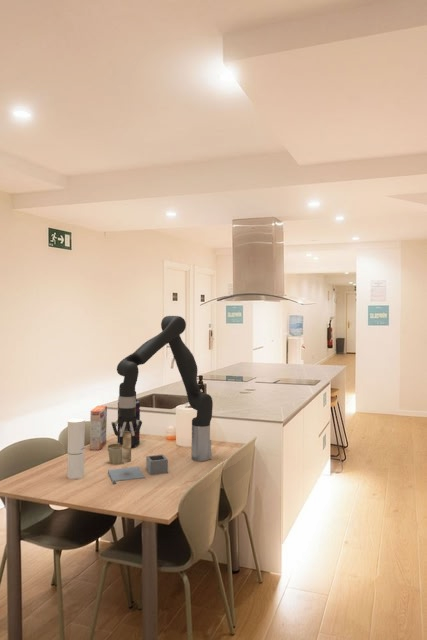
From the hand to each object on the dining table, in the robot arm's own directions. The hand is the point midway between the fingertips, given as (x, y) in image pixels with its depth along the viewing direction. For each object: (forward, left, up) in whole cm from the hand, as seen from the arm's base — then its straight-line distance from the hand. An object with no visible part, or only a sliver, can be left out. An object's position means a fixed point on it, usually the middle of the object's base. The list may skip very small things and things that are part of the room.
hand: (126, 443), depth 212 cm
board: (0, 0, -15) cm, 15 cm away
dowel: (0, 0, -8) cm, 8 cm away
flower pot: (+1, -19, -15) cm, 24 cm away
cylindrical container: (+21, -8, -15) cm, 27 cm away
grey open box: (-14, 0, -15) cm, 20 cm away
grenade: (-10, -46, -15) cm, 49 cm away
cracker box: (+5, -50, -15) cm, 53 cm away
